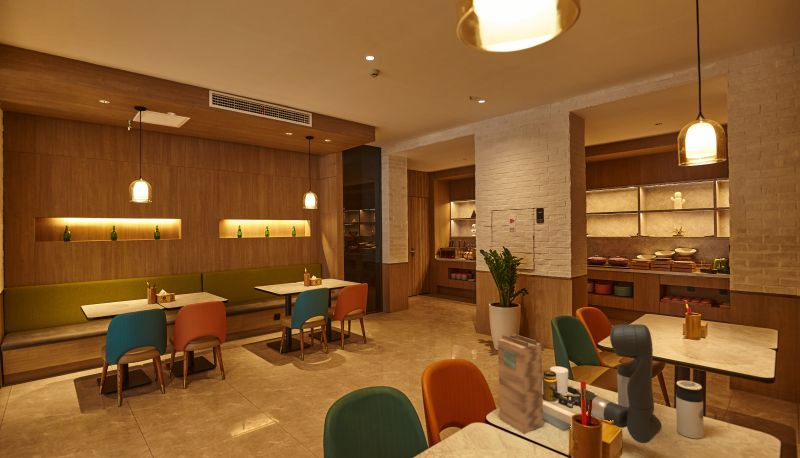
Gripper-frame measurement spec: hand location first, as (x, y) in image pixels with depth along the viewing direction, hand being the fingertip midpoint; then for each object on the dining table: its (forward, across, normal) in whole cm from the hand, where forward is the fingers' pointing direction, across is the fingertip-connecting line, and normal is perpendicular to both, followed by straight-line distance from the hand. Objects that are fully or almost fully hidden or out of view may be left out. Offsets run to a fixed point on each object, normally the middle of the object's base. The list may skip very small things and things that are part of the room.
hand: (560, 391), depth 158 cm
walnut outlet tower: (+7, +15, +12) cm, 20 cm away
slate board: (+4, 0, +12) cm, 12 cm away
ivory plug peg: (0, 0, +11) cm, 11 cm away
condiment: (+16, -11, +12) cm, 23 cm away
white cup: (+19, -22, +12) cm, 31 cm away
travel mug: (-31, -31, +12) cm, 45 cm away
